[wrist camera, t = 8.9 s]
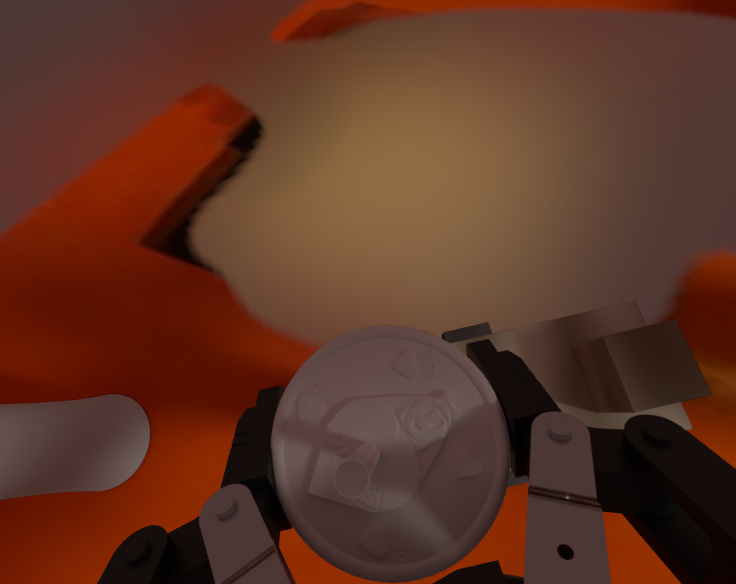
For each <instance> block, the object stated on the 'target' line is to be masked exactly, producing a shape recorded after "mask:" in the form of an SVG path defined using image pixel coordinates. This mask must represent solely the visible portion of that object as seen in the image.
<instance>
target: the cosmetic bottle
mask: <svg viewBox="0 0 736 584" xmlns="http://www.w3.org/2000/svg"><path fill="white" fill-rule="evenodd" d="M149 441H150V426H149V421H148V418H147V415H146V413H145V411H144V410H143V408H142V407H141V406H140V405H139V404H138V403H137V402H136V401H135V400H133V399H131V398H129V397H127V396H124V395H118V394H110V395H103V396H98V397H93V398H86V399H79V400H70V401H59V402H44V403H24V404H0V500H2V499H9V498H16V497H23V496H30V495H38V494H47V493H58V492H73V491H104V490H108V489H111V488H114V487H116V486H118V485H120V484H122V483H123V482H124V481H126V480H127V479H128V478H129V477H131V476H132V475H133V473H134V472H135V471H136V470H137V469H138V467H139V466H140V464H141V463H142V461H143V459H144V457H145V455H146V452H147V450H148V446H149Z"/></svg>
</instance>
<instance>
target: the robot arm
mask: <svg viewBox="0 0 736 584" xmlns="http://www.w3.org/2000/svg"><path fill="white" fill-rule="evenodd" d="M466 352H467V357H468V358H469V359H470V360H471V361H472V362H473V363H474V364H475V365H476V366H477V367H478V369H479V370H480V371H481V372H482V374H483V375H484V376H485V378H486V379H487V380H488V382H489V384H490V385H491V387H492V389H493V390H494V392H495V394H496V396H497V398H498V400H499V403H500V405H501V408H502V411H503V413H504V417H505V420H506V424H507V428H508V434H509V440H510V468H511V469H512V471H513V473H514V475H515V477H516V478H518V477H523V476H527V477H528V479H529V488H528V502H527V526H526V550H525V573H524V578H523V577H519V576H514V575H507V574H503V573H502V570H501V567H500V565H499V562H498V560H497V561H493V562H488V563H484V564H480V565H475V566H471V567H467V568H462V569H458V570H456V571H454V572H452V573H450V574H449V575H447V576H445V577H443V578H442V579H440V580H438V581H436V582H435V583H433V584H611V580H610V572H609V563H608V555H607V547H606V538H605V530H604V522H603V514H602V511H603V512H613V513H622V514H623V516H624V517H625V518H626V519H627V520H628V521H629V523H630V524H631V525H632V526H633V527H634V528H635V530H636V531H637V532H638V533H639V534H640V535H641V537H642V538H643V539H644V540H645V541H646V543H647V544H648V545H649V546H650V547H651V548H652V550H653V551H654V552H655V553H656V554H657V555H658V557H659V558H660V559H661V560H662V561H663V562H664V564H665V565H666V566H667V567H668V568H669V569H670V571H671V572H672V573H673V574H674V575H675V577H676V578H677V579H678V580H679V581H680V582H681V584H736V469H735V468H734V467H732V466H731V465H730V464H728V463H727V462H726V461H725V460H723V459H722V458H721V457H720V456H718V455H717V454H716V453H714V452H713V451H712V450H711V449H709V448H708V447H707V446H705V445H704V444H703V443H702V442H700V441H699V440H698V439H697V438H695V437H694V436H693V435H691V434H690V433H689V432H688V431H686V430H685V429H684V428H683V427H681V426H680V425H678V424H677V423H675V422H673V421H671V420H669V419H667V418H664V417H661V416H656V415H648V414H643V415H637V416H634V417H631V418H630V419H628V420H627V422H626V423H625V425H624V429H606V428H593V427H588V426H585V424H584V423H583V422H582V421H580V420H579V419H578V418H576V417H574V416H572V415H570V414H567V413H563V412H562V411H561V409H560V408H559V407H558V406H557V404H556V403H555V402H554V400H553V399H552V398H551V396H550V395H549V394H548V392H547V391H546V390H545V389H544V387H543V386H542V385H541V383H540V382H539V381H538V379H536V377H535V375H534V374H533V373H532V372H531V370H529V368H528V366H527V365H526V364H525V362H524V361H523V360H522V358H521V357H519V356H517V355H516V354H514V353H512V352H511V351H509V350H505V351H501V352H498V351H497V350H496V348H495V347H494V345H493V344H492V342H491V341H490V340H489V339H485V340H480V341H476V342H472V343H467V344H466ZM284 392H285V389H284V387H283V386H282V385H281V386H276V387H272V388H268V389H263V390H260V391H259V394H258V399H257V403H256V407H253V408H248V409H246V411H245V412H244V414H243V415H242V416H241V418H240V419H239V421H238V423H237V427H236V431H235V434H234V435H235V437H234V438H233V442H232V448H231V450H230V454H229V457H228V461H227V465H226V469H225V473H224V476H223V480H222V484H221V488H220V490H218V491H217V492H215V493H214V494H213V495H212V496H211V497H210V498H209V499H208V500H207V501H206V503H205V504H204V506H203V507H202V510H201V512H200V516H199V517H197V518H196V519H194V520H192V521H190V522H188V523H187V524H185V525H183V526H181V527H179V528H177V529H175V530H173V531H171V532H170V533H167V532H166V531H165V529H164V528H162V527H161V526H157V525H151V526H147V527H144V528H142V529H140V530H138V531H136V532H134V533H133V534H132V535H130V536H129V537H128V538H127V539H126V540H124V541H123V542H122V544H121V545H120V546H119V547H118V548H117V550H116V551H115V552H114V554H113V556H112V557H111V559H110V561H109V563H108V565H107V567H106V568H105V570H104V572H103V574H102V576H101V578H100V579H99V581H98V583H97V584H296V582H295V580H294V578H293V576H292V574H291V572H290V569H289V567H288V565H287V563H286V561H285V558H284V556H283V554H282V552H281V550H280V548H279V538H280V531H283V530H287V529H292V524H291V523H290V521H289V519H288V518H287V516H286V514H285V512H284V510H283V508H282V505H281V503H280V500H279V497H278V495H277V490H276V485H275V478H274V471H273V463H272V454H271V436H272V429H273V423H274V419H275V415H276V412H277V408H278V406H279V403H280V400H281V398H282V396H283V394H284Z"/></svg>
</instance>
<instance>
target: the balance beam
mask: <svg viewBox="0 0 736 584" xmlns="http://www.w3.org/2000/svg"><path fill="white" fill-rule="evenodd" d="M442 339H443V340H445V341H446V342H448V343H450V344H451V345H453V346H454V347H456V348H457V349H458V350H460V351H461V352H462V353H463V354H465V355H466V356H467V352H466V344H467V343H472V342H476V341H480V340H485V339H489V340H490V341H491V342H492V344H493V345H494V347H495V348H496V350H497V351H498V352H501V351H505V350H509V351H511V352H512V353H514V354H516V355H517V356H519V357H521V358H522V360H523V361H524V362H525V364H526V365H527V366H528V368H529V370H531V372H532V373H533V374H534V375H535V377H536V379H538V381H539V382H540V383H541V385H542V386H543V387H544V389H545V390H546V391H547V392H548V394H549V395H550V396H551V398H552V399H553V400H554V402H555V403H556V404H557V406H558V407H559V408H560V409H561V411H562V412H563V413H567V414H570V415H572V416H574V417H576V418H578V419H579V420H580V421H582V422H583V423H584V424H585V426H588V427H593V428H606V429H624V425H625V423H626V422H627V420H628V419H630V418H631V417H634V416H637V415H643V414H648V415H656V416H661V417H664V418H667V419H669V420H671V421H673V422H675V423H677V424H678V425H680V426H681V427H683V428H684V429H685V430H688V429H693V428H692V425H691V423H690V421H689V419H688V417H687V414H686V412H685V410H684V408H683V406H682V403H681V402H683V401H687V400H691V399H696V398H700V397H704V396H708V395H712V394H711V392H710V390H709V387H708V385H707V383H706V381H705V379H704V377H703V375H702V373H701V371H700V369H699V367H698V364H697V362H696V360H695V358H694V356H693V354H692V352H691V350H690V348H689V346H688V344H687V341H686V339H685V337H684V335H683V333H682V331H681V329H680V327H679V325H678V323H677V321H676V319H675V320H671V321H667V322H662V323H658V324H654V325H649V326H646V324H645V321H644V319H643V317H642V315H641V313H640V310H639V308H638V306H637V304H636V301H632V302H627V303H623V304H619V305H614V306H610V307H606V308H602V309H597V310H593V311H588V312H584V313H580V314H576V315H571V316H567V317H563V318H559V319H554V320H550V321H545V322H541V323H537V324H532V325H528V326H524V327H520V328H515V329H511V330H507V331H502V332H498V333H494V334H492V332H491V329H490V326H489V323H488V322H487V323H482V324H478V325H474V326H469V327H465V328H461V329H457V330H452V331H448V332H444V333H443V334H442ZM527 482H529V479H528V477H527V476H523V477H518V478H516V477H515V475H514V473H513V471H512V469H511V468H510V473H509V480H508V485H507V487H510V486H514V485H518V484H523V483H527Z"/></svg>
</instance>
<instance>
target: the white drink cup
mask: <svg viewBox="0 0 736 584" xmlns="http://www.w3.org/2000/svg"><path fill="white" fill-rule="evenodd" d="M271 454H272V463H273V471H274V478H275V485H276V490H277V495H278V497H279V500H280V503H281V505H282V508H283V510H284V512H285V514H286V516H287V518H288V519H289V521H290V523H291V524H292V526H293V527H294V529H295V530H296V532H297V533H298V534H299V536H300V537H301V538H302V539H303V541H304V542H305V543H306V544H307V545H308V546H309V547H310V548H311V549H312V550H313V551H314V552H315V553H317V554H318V555H319V556H320V557H321V558H323V559H324V560H325V561H327V562H328V563H330V564H331V565H333V566H335V567H336V568H338V569H340V570H342V571H344V572H346V573H349V574H351V575H354V576H356V577H360V578H363V579H367V580H371V581H378V582H390V583H397V582H409V581H414V580H420V579H423V578H426V577H429V576H433V575H435V574H437V573H439V572H442V571H444V570H446V569H447V568H449V567H451V566H452V565H454V564H456V563H457V562H458V561H460V560H461V559H462V558H464V557H465V556H466V555H467V554H468V553H469V552H471V551H472V550H473V549H474V548H475V547H476V546H477V544H478V543H479V542H480V541H481V540H482V539H483V537H484V536H485V535H486V533H487V532H488V530H489V529H490V527H491V526H492V524H493V522H494V520H495V519H496V517H497V515H498V512H499V510H500V508H501V505H502V503H503V500H504V496H505V493H506V490H507V485H508V480H509V473H510V440H509V434H508V428H507V424H506V420H505V417H504V413H503V411H502V408H501V405H500V403H499V400H498V398H497V396H496V394H495V392H494V390H493V389H492V387H491V385H490V384H489V382H488V380H487V379H486V378H485V376H484V375H483V374H482V372H481V371H480V370H479V369H478V367H477V366H476V365H475V364H474V363H473V362H472V361H471V360H470V359H469V358H468V357H467V356H466V355H465V354H463V353H462V352H461V351H460V350H458V349H457V348H456V347H454V346H453V345H451V344H450V343H448V342H446V341H445V340H443V339H441V338H439V337H437V336H435V335H432V334H430V333H427V332H425V331H421V330H418V329H414V328H409V327H404V326H394V325H382V326H372V327H367V328H362V329H358V330H355V331H351V332H349V333H346V334H344V335H341V336H340V337H338V338H336V339H334V340H332V341H330V342H329V343H327V344H326V345H324V346H322V347H321V348H320V349H319V350H317V351H316V352H315V353H314V354H313V355H312V356H310V357H309V358H308V359H307V360H306V361H305V362H304V364H303V365H302V366H301V367H300V368H299V369H298V371H297V372H296V373H295V375H294V376H293V378H292V379H291V381H290V383H289V384H288V386H287V388H286V389H285V392H284V394H283V396H282V398H281V400H280V403H279V406H278V408H277V412H276V415H275V419H274V423H273V429H272V436H271Z"/></svg>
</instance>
